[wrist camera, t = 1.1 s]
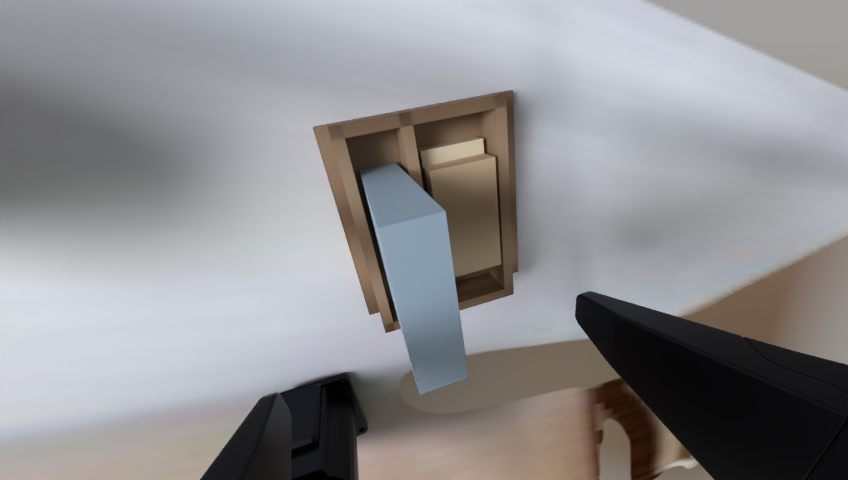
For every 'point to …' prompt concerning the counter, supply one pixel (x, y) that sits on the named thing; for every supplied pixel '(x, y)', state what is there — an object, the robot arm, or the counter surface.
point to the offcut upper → (468, 210)
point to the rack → (398, 142)
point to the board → (418, 274)
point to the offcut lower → (448, 152)
